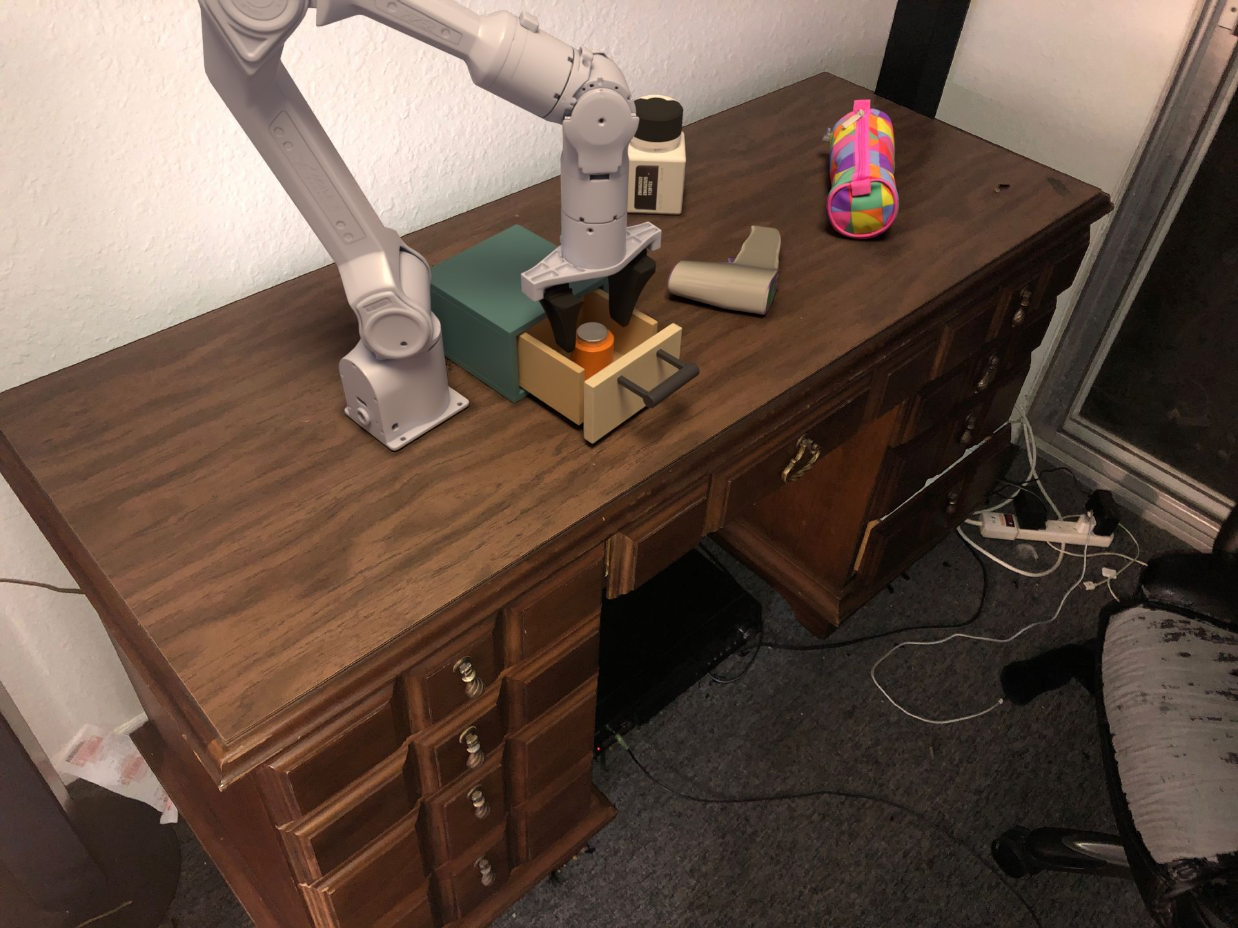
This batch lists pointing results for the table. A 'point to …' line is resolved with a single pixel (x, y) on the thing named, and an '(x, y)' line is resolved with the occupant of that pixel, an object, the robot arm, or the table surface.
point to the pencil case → (862, 173)
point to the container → (657, 157)
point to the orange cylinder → (593, 348)
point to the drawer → (616, 390)
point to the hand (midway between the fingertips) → (592, 334)
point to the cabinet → (492, 305)
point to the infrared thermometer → (734, 275)
